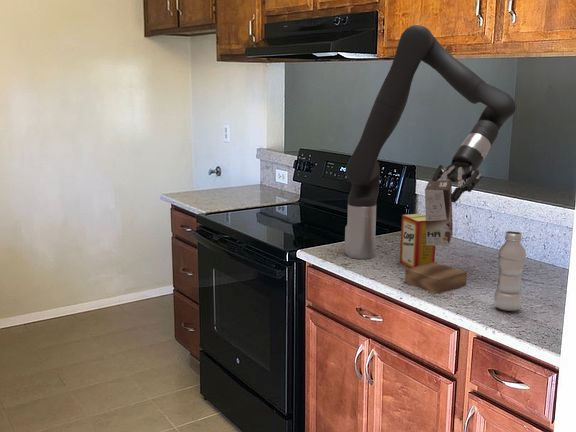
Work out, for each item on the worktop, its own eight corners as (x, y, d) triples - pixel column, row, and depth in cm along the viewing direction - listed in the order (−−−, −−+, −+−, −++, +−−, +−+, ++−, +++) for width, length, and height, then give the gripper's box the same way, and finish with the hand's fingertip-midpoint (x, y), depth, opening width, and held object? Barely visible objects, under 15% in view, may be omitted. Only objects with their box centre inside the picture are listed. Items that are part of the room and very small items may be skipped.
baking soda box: (434, 269, 190) (436, 218, 186) (415, 271, 188) (417, 220, 184) (417, 261, 198) (420, 212, 195) (399, 262, 196) (401, 213, 193)
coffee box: (450, 246, 167) (448, 189, 162) (425, 245, 170) (423, 189, 164) (453, 234, 175) (452, 179, 170) (430, 233, 178) (428, 179, 172)
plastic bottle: (498, 302, 161) (504, 228, 157) (524, 309, 157) (531, 232, 153) (489, 309, 156) (495, 233, 152) (515, 316, 152) (522, 237, 148)
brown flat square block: (405, 282, 177) (405, 269, 176) (432, 274, 184) (433, 262, 183) (438, 293, 168) (438, 279, 167) (465, 285, 175) (466, 271, 174)
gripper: (445, 142, 179) (416, 186, 175) (488, 146, 168) (457, 194, 164) (456, 159, 183) (427, 202, 179) (498, 164, 172) (469, 211, 168)
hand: (442, 198), depth 171 cm, fingers closed on coffee box, 6 cm apart
